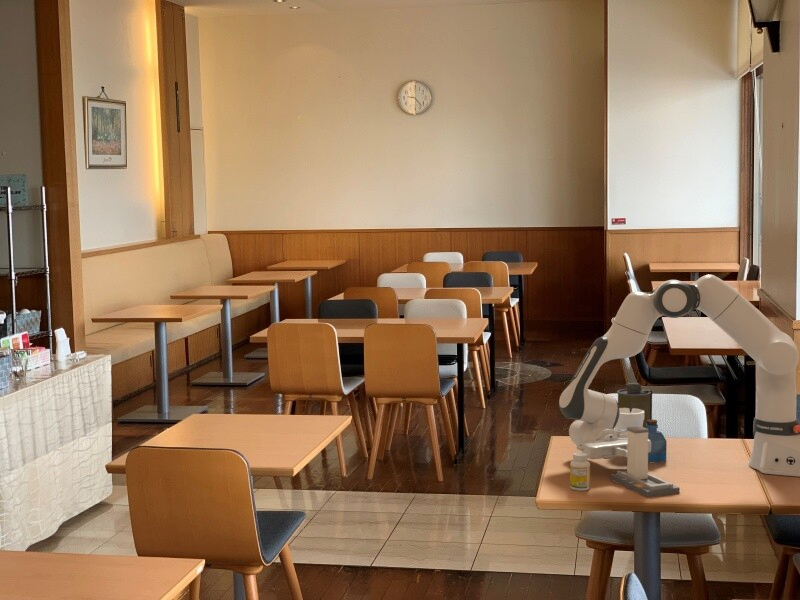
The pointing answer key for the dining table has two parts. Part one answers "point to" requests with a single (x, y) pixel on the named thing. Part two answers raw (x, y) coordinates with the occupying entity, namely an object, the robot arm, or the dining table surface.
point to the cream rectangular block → (637, 452)
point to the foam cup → (630, 418)
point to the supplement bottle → (580, 472)
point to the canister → (636, 400)
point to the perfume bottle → (656, 442)
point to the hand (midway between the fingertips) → (631, 454)
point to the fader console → (645, 484)
